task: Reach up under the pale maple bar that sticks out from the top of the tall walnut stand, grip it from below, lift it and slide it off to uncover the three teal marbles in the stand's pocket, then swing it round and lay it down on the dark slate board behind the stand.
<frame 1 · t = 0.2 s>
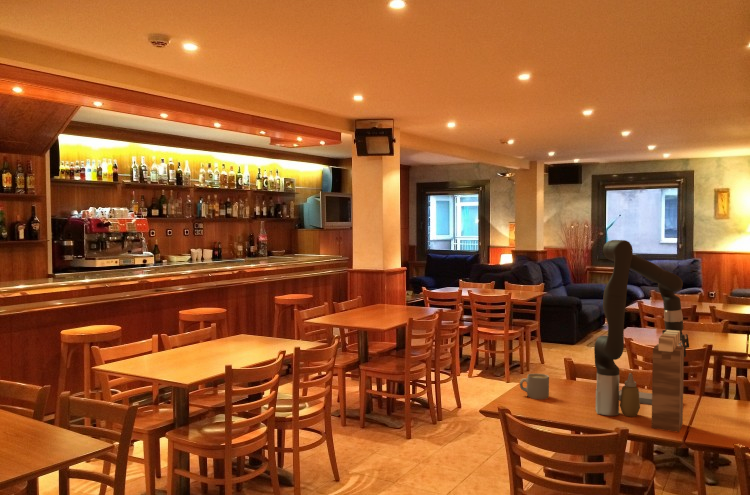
hand: (676, 354, 283), 23 cm above the table, tool pointing down, fingers open, 8 cm apart
coffee mug: (534, 396, 302), on the table
squeeze bottle: (629, 415, 271), on the table
stand: (667, 426, 256), on the table
marble 3: (669, 355, 258), point 28 cm above the table, touching stand
marble 2: (668, 356, 255), point 28 cm above the table, touching stand
marble 1: (667, 357, 252), point 28 cm above the table, touching stand
bar: (669, 346, 257), point 32 cm above the table, touching stand
board: (647, 401, 293), on the table
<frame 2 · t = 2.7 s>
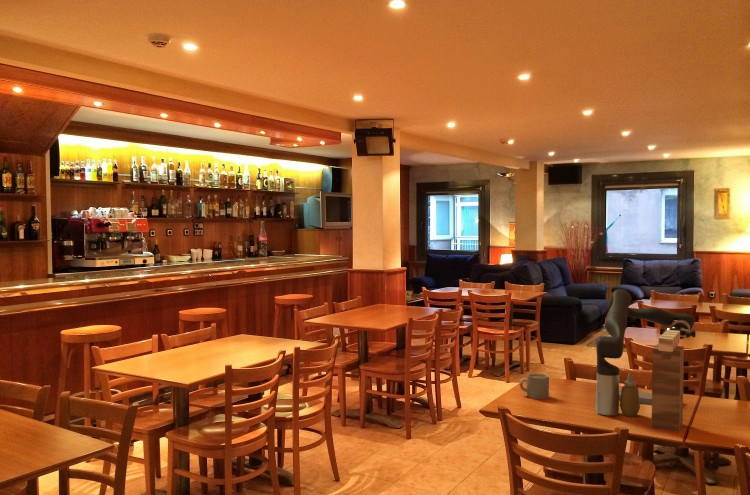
hand: (675, 334, 274), 34 cm above the table, tool horizontal, fingers open, 8 cm apart
nothing on the table moved.
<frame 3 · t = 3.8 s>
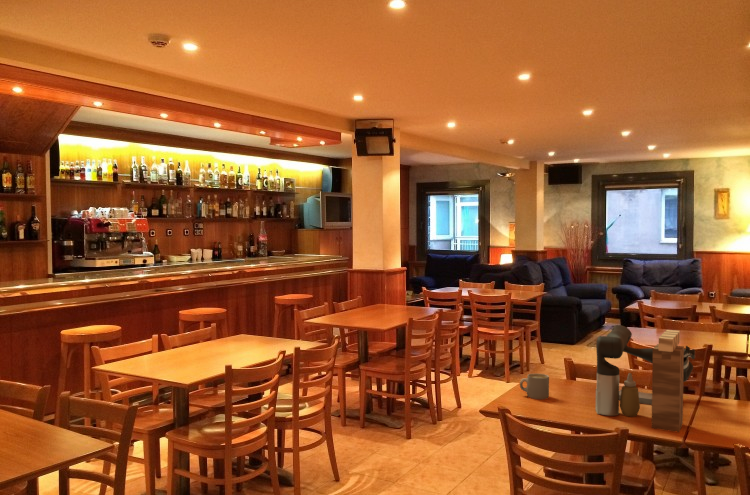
hand: (675, 346, 275), 29 cm above the table, tool pointing upward, fingers open, 8 cm apart
nothing on the table moved.
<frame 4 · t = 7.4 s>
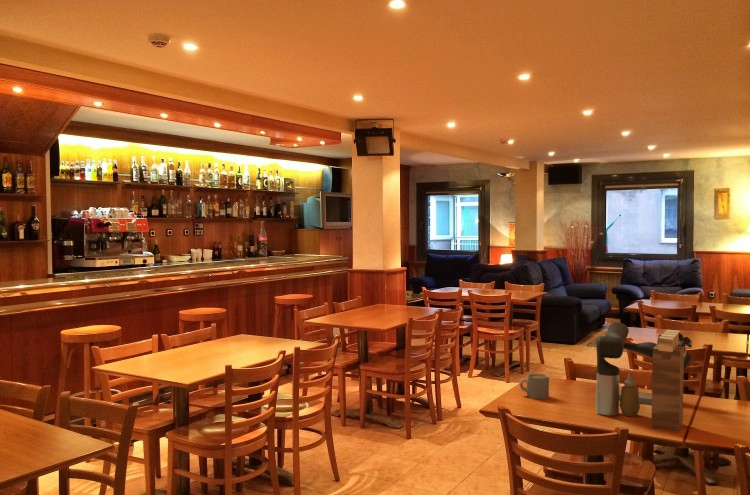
hand: (672, 334, 264), 36 cm above the table, tool pointing upward, fingers closed on bar, 5 cm apart
bar: (669, 346, 257), point 32 cm above the table, touching gripper, stand
everything else where it was.
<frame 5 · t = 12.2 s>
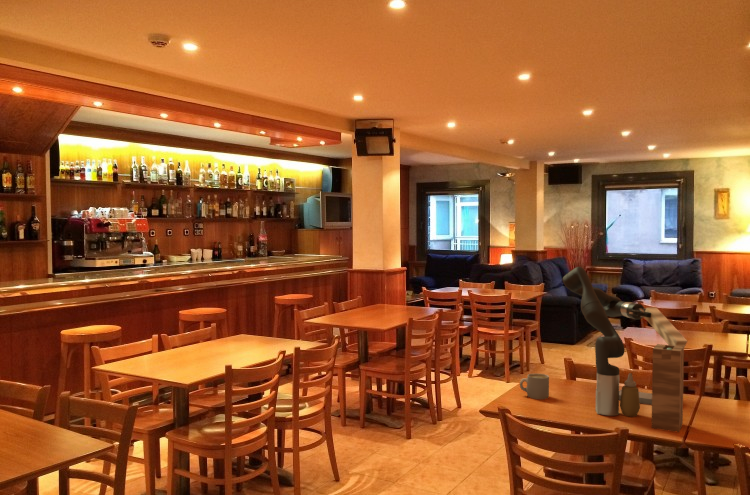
hand: (655, 315, 287), 41 cm above the table, tool horizontal, fingers closed on bar, 5 cm apart
bar: (662, 332, 283), point 34 cm above the table, tilted 30°, touching gripper
everything else where it was.
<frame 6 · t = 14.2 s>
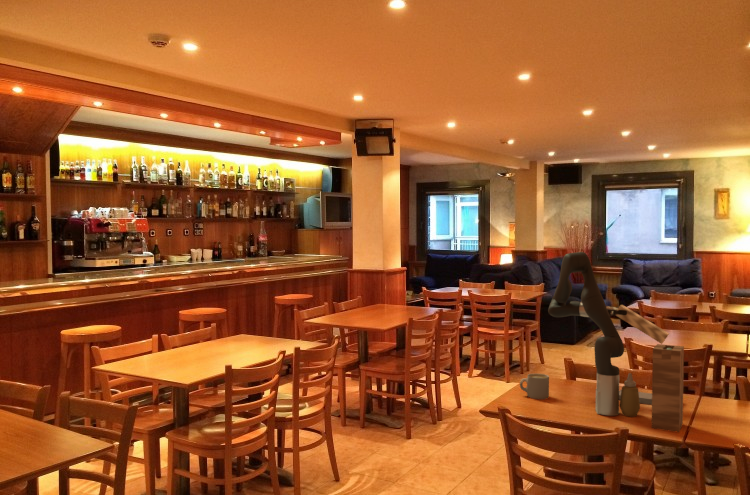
hand: (627, 312, 297), 41 cm above the table, tool horizontal, fingers closed on bar, 5 cm apart
bar: (638, 328, 294), point 34 cm above the table, tilted 30°, touching gripper
everything else where it was.
when the fingers open (8 cm above the table, at t = 21.4 s): bar drops 1 cm, resting on board.
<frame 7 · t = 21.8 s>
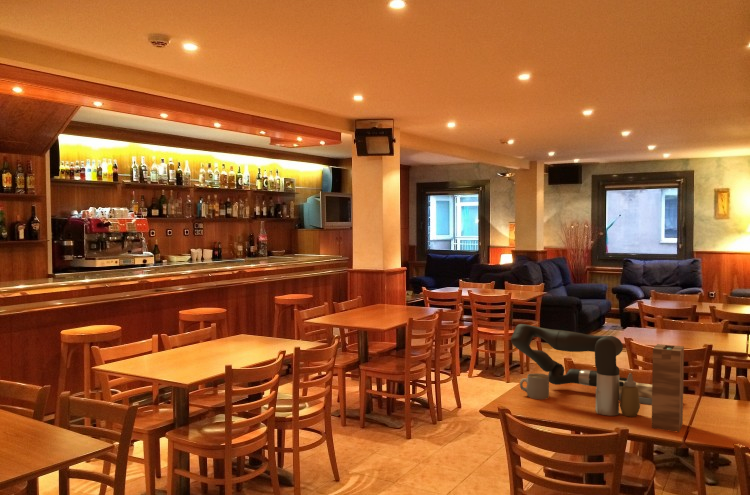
hand: (625, 382, 298), 8 cm above the table, tool horizontal, fingers open, 8 cm apart
bar: (641, 395, 294), point 2 cm above the table, touching board
everything else where it was.
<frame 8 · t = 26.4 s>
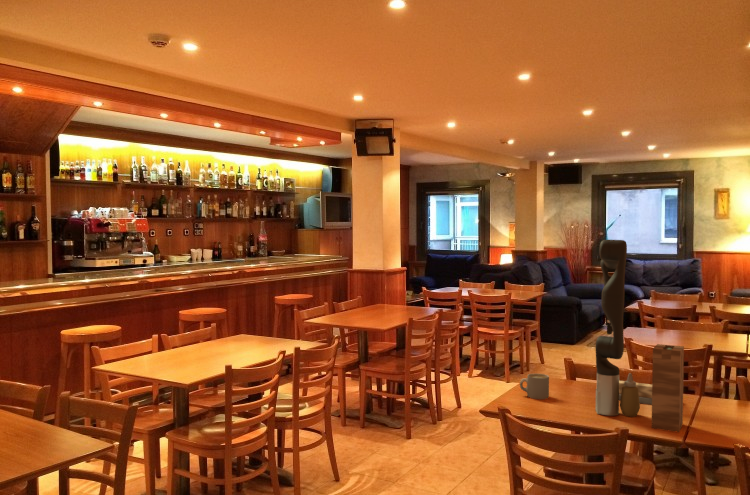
hand: (611, 332, 303), 30 cm above the table, tool pointing down, fingers open, 8 cm apart
nothing on the table moved.
at the end: bar inside the target area (1.5 cm from its centre), point 2.5 cm above the table; bar touching board; the gripper is holding nothing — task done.
